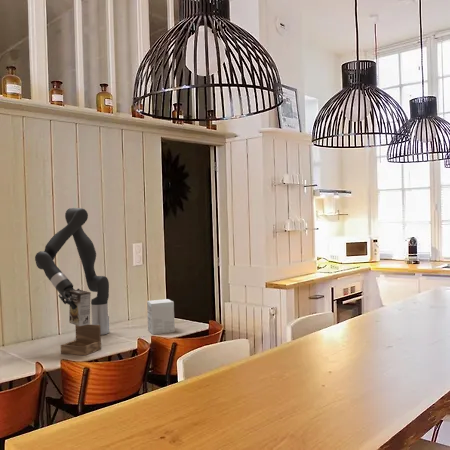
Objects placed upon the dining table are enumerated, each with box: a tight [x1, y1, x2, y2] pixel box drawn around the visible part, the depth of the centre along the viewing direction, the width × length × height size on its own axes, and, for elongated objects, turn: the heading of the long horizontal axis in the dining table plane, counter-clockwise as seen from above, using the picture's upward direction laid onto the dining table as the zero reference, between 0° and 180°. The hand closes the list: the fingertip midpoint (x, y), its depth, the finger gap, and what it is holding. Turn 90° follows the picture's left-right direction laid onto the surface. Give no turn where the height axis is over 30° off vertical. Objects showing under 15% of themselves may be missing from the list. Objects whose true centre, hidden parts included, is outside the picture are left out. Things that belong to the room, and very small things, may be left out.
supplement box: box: [146, 298, 176, 335], centre depth 283 cm, size 13×13×18 cm
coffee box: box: [68, 289, 92, 326], centre depth 242 cm, size 9×6×16 cm
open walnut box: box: [60, 323, 102, 356], centre depth 243 cm, size 13×14×12 cm
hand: (81, 307), depth 242 cm, fingers closed on coffee box, 8 cm apart
